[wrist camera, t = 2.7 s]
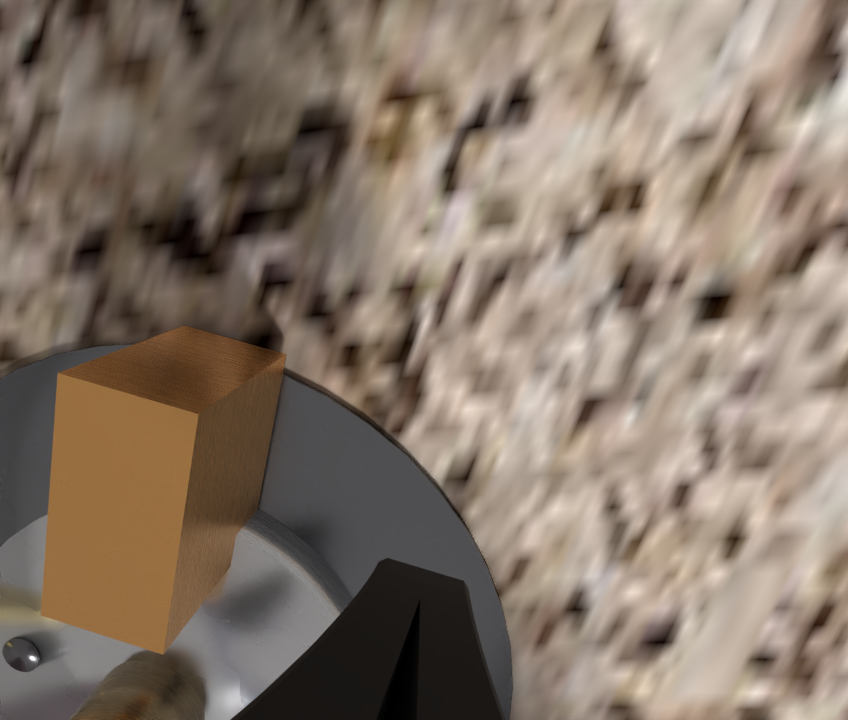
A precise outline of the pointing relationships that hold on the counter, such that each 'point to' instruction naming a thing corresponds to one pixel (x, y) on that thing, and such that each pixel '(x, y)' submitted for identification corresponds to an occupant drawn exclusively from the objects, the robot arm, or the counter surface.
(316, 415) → the post base
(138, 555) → the flange plate
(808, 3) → the counter surface
